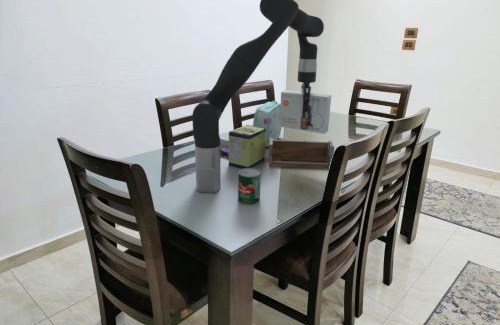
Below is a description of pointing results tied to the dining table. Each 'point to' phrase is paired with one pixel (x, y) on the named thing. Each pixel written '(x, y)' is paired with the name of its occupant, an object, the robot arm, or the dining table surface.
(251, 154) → the protein box
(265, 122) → the lunch box
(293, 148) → the shelf
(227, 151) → the box
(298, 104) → the skincare box
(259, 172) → the canned tomato
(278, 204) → the dining table surface
